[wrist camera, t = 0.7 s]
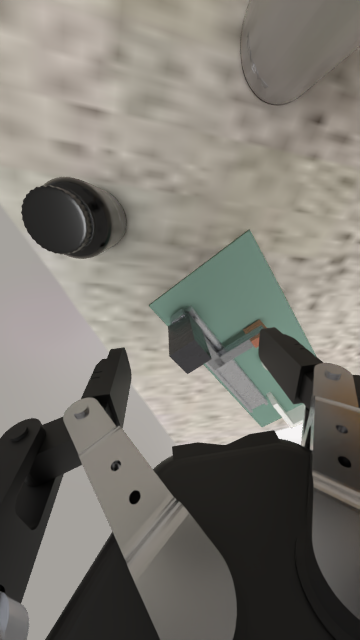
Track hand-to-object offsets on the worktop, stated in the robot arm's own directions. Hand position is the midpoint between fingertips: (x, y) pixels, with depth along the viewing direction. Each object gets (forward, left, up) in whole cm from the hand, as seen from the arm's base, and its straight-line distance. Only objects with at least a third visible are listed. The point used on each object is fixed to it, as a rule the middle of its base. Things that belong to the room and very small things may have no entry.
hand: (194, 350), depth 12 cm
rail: (+4, +20, -20) cm, 29 cm away
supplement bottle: (+4, -11, -20) cm, 23 cm away
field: (-2, +23, -20) cm, 31 cm away
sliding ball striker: (0, +11, -19) cm, 22 cm away
